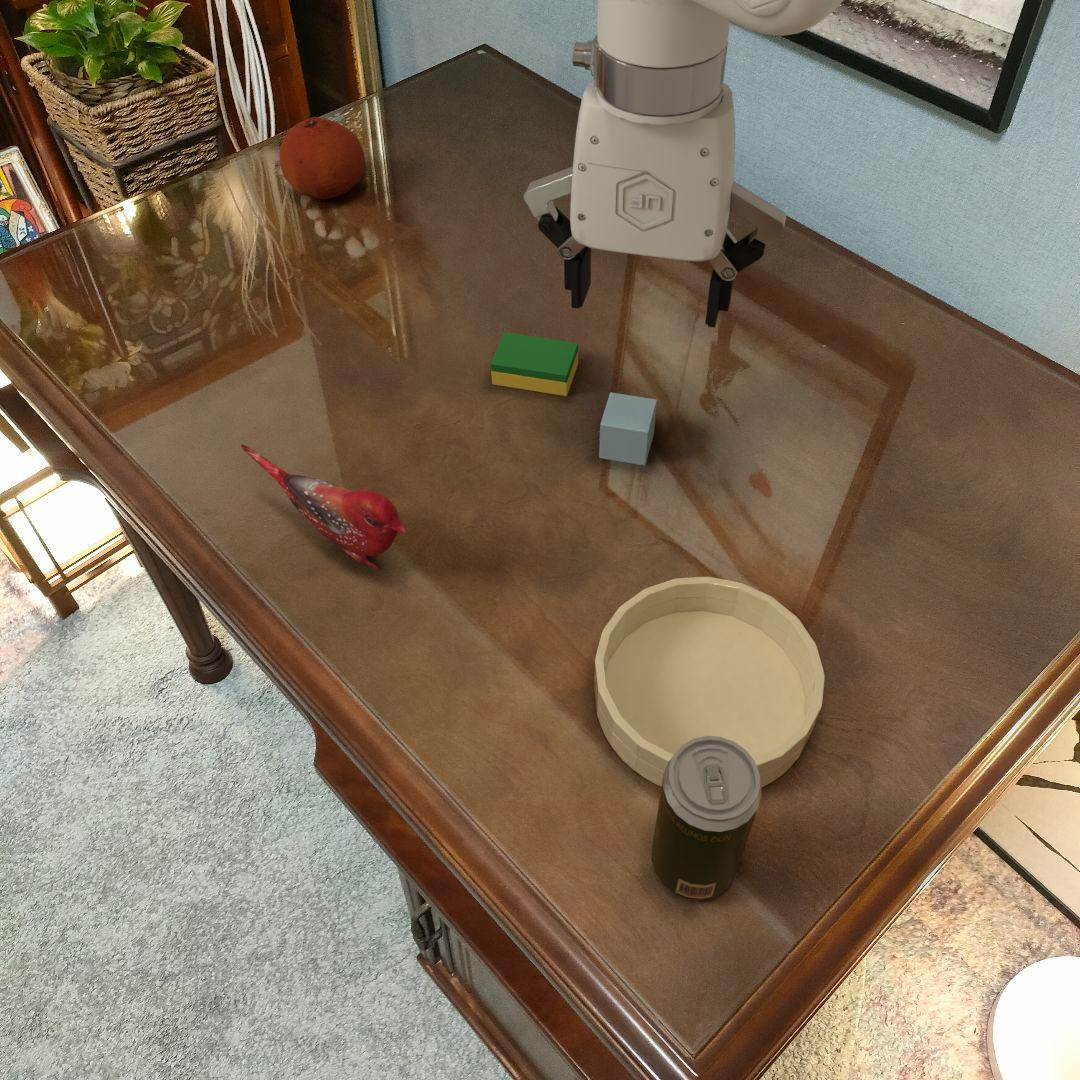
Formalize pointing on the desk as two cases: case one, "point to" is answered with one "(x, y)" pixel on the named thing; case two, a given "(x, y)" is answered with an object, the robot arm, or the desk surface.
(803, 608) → the desk surface
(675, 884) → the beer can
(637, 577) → the desk surface
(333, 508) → the decorative bird figurine
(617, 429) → the ice cube
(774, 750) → the bowl
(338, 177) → the fruit
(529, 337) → the scrubber
